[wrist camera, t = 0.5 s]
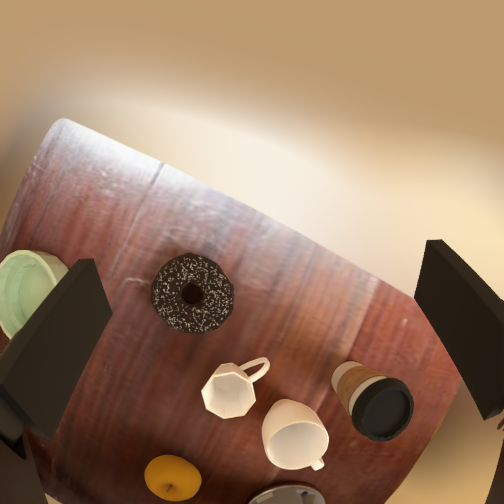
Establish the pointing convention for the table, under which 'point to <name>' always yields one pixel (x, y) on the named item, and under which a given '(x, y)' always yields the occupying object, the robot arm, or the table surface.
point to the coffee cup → (373, 400)
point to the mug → (294, 436)
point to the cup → (232, 389)
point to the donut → (200, 313)
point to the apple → (172, 478)
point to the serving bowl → (26, 285)
